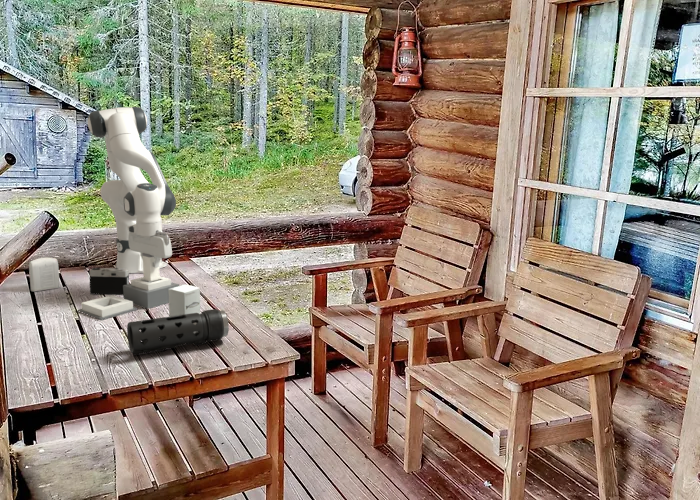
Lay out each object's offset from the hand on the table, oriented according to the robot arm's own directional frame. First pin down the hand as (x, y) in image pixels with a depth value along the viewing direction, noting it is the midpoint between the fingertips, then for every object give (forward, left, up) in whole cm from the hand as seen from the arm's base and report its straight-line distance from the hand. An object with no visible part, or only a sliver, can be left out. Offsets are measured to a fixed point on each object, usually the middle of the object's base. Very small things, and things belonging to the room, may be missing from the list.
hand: (151, 265), depth 217 cm
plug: (0, 0, -5) cm, 5 cm away
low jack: (+17, -2, -13) cm, 22 cm away
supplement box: (+9, +29, -13) cm, 33 cm away
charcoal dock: (0, 0, -13) cm, 13 cm away
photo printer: (+17, -42, -13) cm, 47 cm away
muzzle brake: (+23, +43, -14) cm, 51 cm away
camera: (+4, -20, -14) cm, 24 cm away
